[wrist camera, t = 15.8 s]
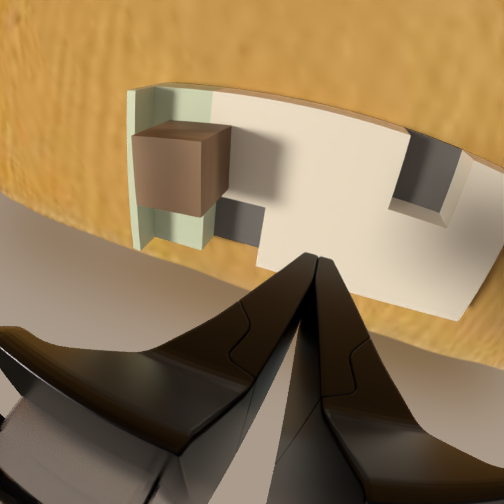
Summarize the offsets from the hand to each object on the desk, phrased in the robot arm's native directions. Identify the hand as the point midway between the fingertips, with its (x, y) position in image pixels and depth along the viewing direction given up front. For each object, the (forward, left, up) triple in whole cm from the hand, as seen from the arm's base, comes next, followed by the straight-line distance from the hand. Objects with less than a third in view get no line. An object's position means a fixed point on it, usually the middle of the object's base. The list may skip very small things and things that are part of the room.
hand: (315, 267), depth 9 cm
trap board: (0, +2, -12) cm, 12 cm away
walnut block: (+8, +1, -10) cm, 12 cm away
